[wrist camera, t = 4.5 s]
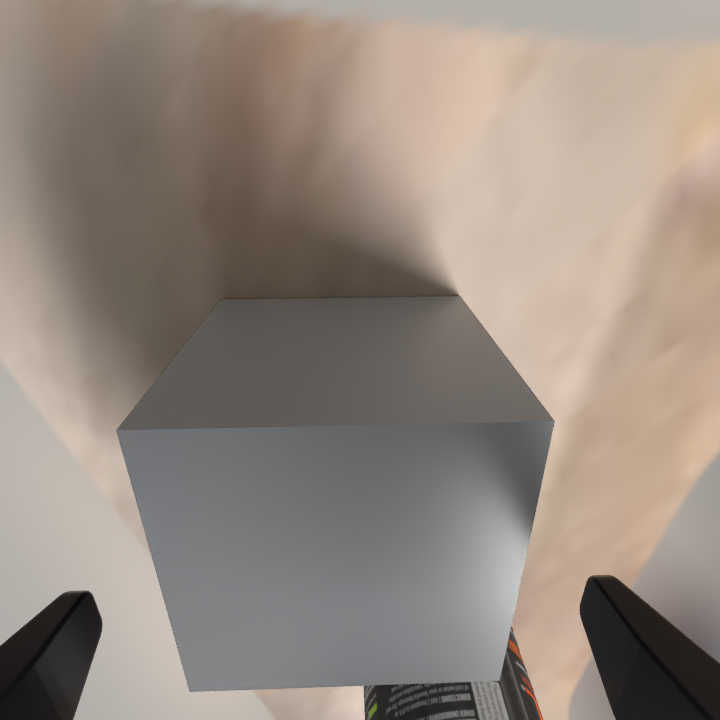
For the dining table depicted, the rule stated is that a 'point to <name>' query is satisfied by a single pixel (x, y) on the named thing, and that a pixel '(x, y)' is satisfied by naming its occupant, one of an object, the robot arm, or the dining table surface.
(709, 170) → the dining table surface
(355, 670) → the grey arch block
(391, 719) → the supplement bottle
